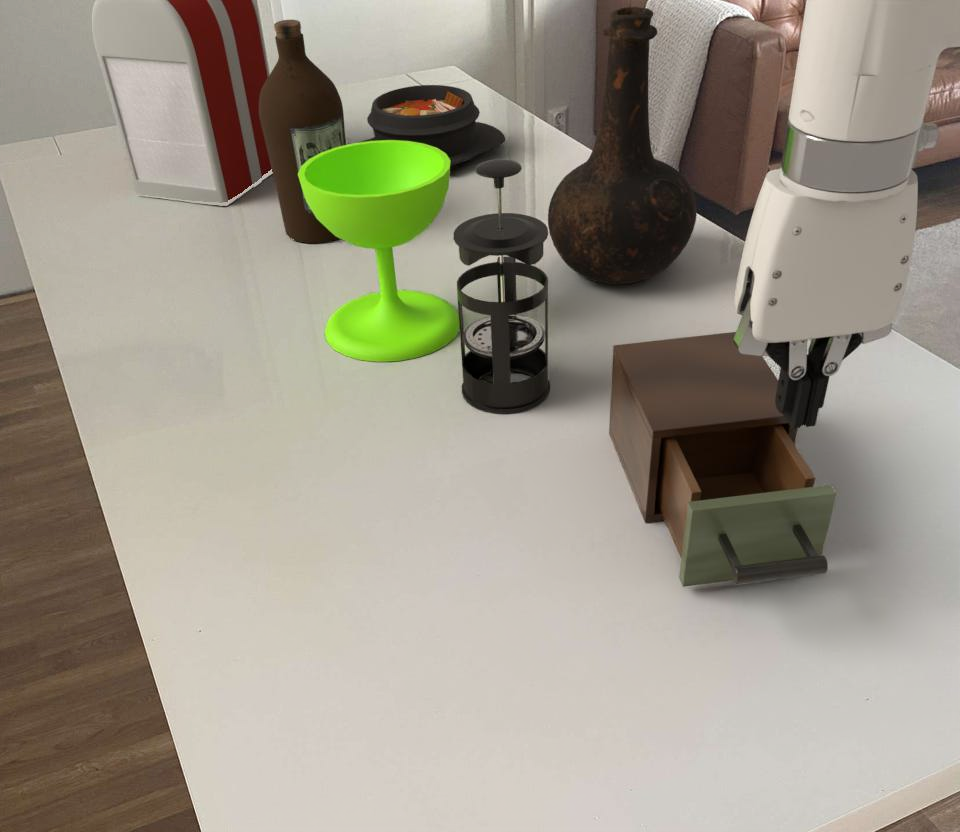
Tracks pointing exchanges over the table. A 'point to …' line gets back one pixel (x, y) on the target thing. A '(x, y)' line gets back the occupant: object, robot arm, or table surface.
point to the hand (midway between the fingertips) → (796, 416)
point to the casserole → (433, 121)
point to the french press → (503, 305)
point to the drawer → (742, 506)
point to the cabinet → (683, 401)
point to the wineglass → (382, 241)
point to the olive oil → (298, 127)
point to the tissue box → (185, 93)
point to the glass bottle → (623, 177)
